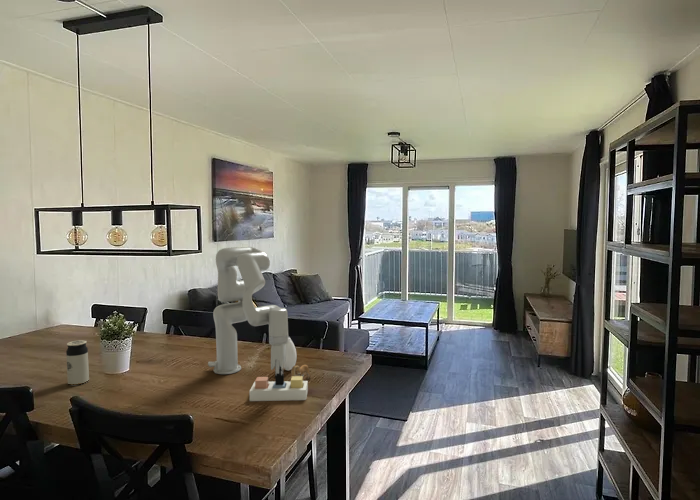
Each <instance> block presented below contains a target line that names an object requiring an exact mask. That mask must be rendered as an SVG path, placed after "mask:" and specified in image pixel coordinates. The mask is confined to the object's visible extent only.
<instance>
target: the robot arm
mask: <svg viewBox="0 0 700 500" xmlns="http://www.w3.org/2000/svg"><path fill="white" fill-rule="evenodd" d="M270 260H271V259H270V258H269V256H268V255H267V253H265V252H264V251H262V250H260V249H258V248H255V247H252V246H240V247H238V246H236V247H235V246H234V247H224V248H221V249H219V250H218V251H217V252H216V254H215V264H216V268H217V298H218V301H220V302H222V303H223V304H220V305H218V306H216V307H215V308H214V309H213V313H212V315H213V321H214V326H215V340H216V341H215V343H216V350H215V351H216V360H215V361H208V362H207V366H208V367H209V368H213V372H214V374H218V375H231V374H235V373H239V372H240V371H241V370H242V366H241V364H239V363H238V361H239V360H238V359H239V358H238V356H239V355H238V333H237V329H236V328H235V327H234V326H233V324H236V323H237V324H238V323H243V322H246V321H247V322H248V324H249V325H250V326H252V327H259V326H264V325H268V343H269V345H271V347H270V370H271V371H273V370H274V372H275V373H274V374H275V376H274V381H275V384H276V385H283V384H284V381H285V374H284V369H285V368H284V365H285V362H286V344H287V343H288V338H289V321H288V320H289V319H288V318H289V316H288V310H287V308H286V307H285V308H284V307H280V306H279V305H277V304H269V305H262V306H256V307H255V304H254V302H253V299H252V298H253V295H254V294H255V293H257V292H259V291H260V290H262V288H264V286H265V285H266V279H265V278H264V275H263V271H267V270H268V269H269V268H270V266H271V261H270ZM235 267H238V268H237V269H238V270H239V273H240V276H241V278H242V279H240V280H238V272H237V269H236V268H235ZM236 301H237V302H236ZM230 302H231V303H230ZM224 303H225V304H224Z"/></svg>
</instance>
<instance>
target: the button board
mask: <svg viewBox="0 0 700 500" xmlns="http://www.w3.org/2000/svg"><path fill="white" fill-rule="evenodd" d="M284 382H286V388H273V385H274V383H275V380H274V381H273V380H272V381H268V388H267V389H255V381H254V382H253V384H252V386H251V388H250V389H249V394H248V395H249V402H267V401H268V402H269V401H272V402H275V401H276V402H277V401H280V402H281V401H306V400H307V396H308V392H309V388H308V387H309V384H308V383H309V381H308V380H303V387H302V388H291V380H290V381H288V380H287V381H285V380H284Z"/></svg>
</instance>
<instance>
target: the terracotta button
mask: <svg viewBox="0 0 700 500" xmlns="http://www.w3.org/2000/svg"><path fill="white" fill-rule="evenodd" d="M254 382H255V389H267V388H268V382H269V376H257V377H256V379H255V380H254Z"/></svg>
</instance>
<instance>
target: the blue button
mask: <svg viewBox="0 0 700 500" xmlns="http://www.w3.org/2000/svg"><path fill="white" fill-rule="evenodd" d="M273 388H286V382H284V384H283V385H276V384H275V383H274V385H273Z"/></svg>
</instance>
